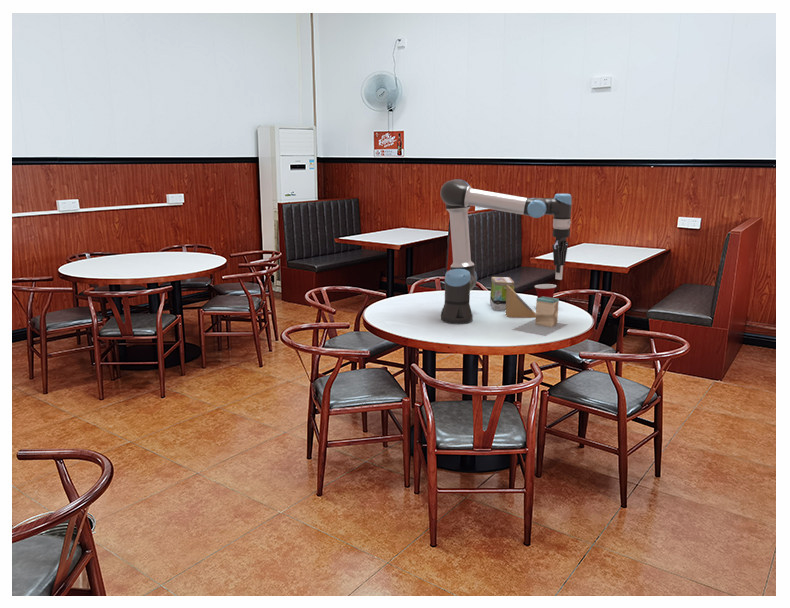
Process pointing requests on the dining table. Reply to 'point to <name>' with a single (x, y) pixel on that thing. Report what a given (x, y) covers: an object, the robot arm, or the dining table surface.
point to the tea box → (499, 292)
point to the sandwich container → (517, 306)
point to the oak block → (546, 311)
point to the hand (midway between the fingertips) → (558, 279)
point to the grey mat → (538, 328)
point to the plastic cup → (545, 290)
